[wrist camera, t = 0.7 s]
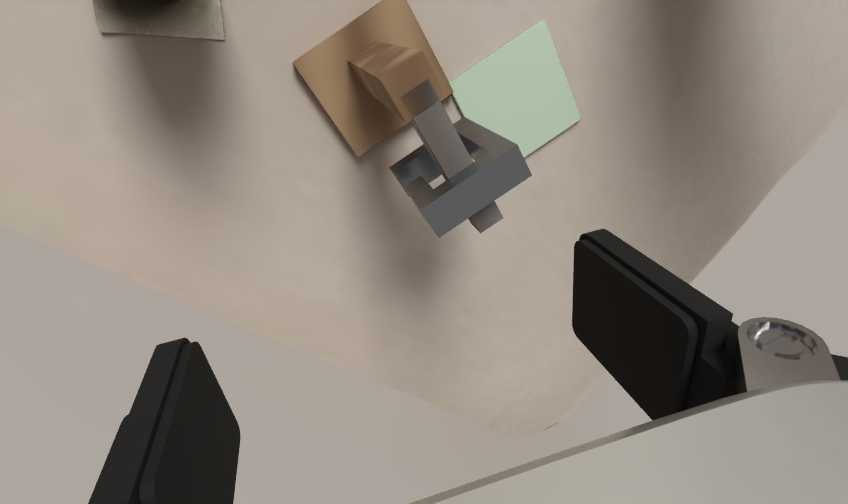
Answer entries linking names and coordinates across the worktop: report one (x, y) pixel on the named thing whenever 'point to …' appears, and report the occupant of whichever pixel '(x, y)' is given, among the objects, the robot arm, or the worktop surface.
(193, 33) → the condiment
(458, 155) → the stand
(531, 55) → the mat
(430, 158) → the link
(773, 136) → the worktop surface
